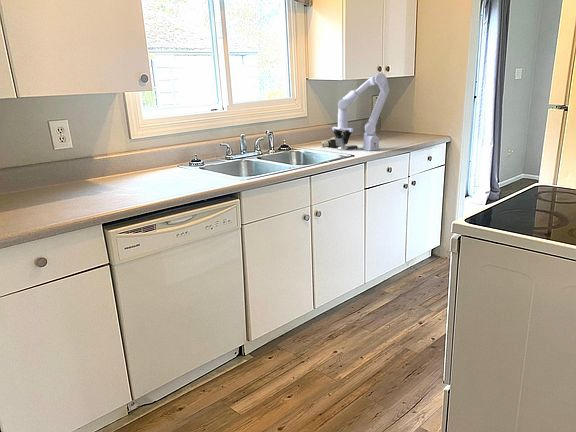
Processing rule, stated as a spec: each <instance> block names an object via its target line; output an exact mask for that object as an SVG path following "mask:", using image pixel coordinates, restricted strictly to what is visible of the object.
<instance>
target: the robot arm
mask: <svg viewBox="0 0 576 432" xmlns="http://www.w3.org/2000/svg"><path fill="white" fill-rule="evenodd" d="M376 85H377V86H378V89H379V91H380V92H379V93H378V96H377V98H376V101H375V103H374V106H373V108H372V110H371V111H372V112H371V114H370V117H369V118H368V121H367V122H366V123H365V124H364V133H363V147H361V148H360V149H361V150H363V151H368V152H369V151H371V152H372V151H379V150H381V149H380V148H379V147H380V138H379V137H378V136H377V133H376V130H377V127H376V126H377V123H378V120H379V117H380V115H381V112H382V110H383V107H384V104H385V103H386V100H387V97H388V95H389V93H390V87H389V86H390V85H389V81H388V78H387V76H386V75H385V74H384V73H383V72H377V73H375V75H373V76H371V77H369V78H368V79H366V80H365V82H363V83H362V84H361V85H360V86H359V87H358V88H356V89H352V90H349V91H348V93H347V94H346V95H345V96H343V97H341V98H342V99H339V101H338V103H337V107H338V109H337V110H338V112H337V126H332V127H331V129H332V131H333V134H334V137H337V136H339V135H344V143H345V144H346V145H347V144H348V143H349V140H350V137H351V135H352V133H353V132H354V128H353V127H348V121H349V119H348V117H349V116H348V115H349V113H348V107H349V105H352V104H353V103H354V102H355V101H357V99H359V97H360V96H359V95H361V94H362V93H363V92H364V91H366V90H367V89H368V88H369V87H371V86H376Z"/></svg>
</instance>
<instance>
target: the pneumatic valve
mask: <svg viewBox="0 0 576 432" xmlns="http://www.w3.org/2000/svg"><path fill="white" fill-rule="evenodd" d="M335 138H336V136H333V137H330V138H329V139H328V140H321V147H322V148H323V147H328V149H337V148H338V147H339V146H336V141H335Z"/></svg>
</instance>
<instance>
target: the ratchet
mask: <svg viewBox="0 0 576 432" xmlns="http://www.w3.org/2000/svg"><path fill="white" fill-rule="evenodd" d="M336 149H337V151H347V150H354V149H358V145H356V144H353V145H344V146H343V147H342V146H339V147H338V148H336Z"/></svg>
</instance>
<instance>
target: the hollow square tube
mask: <svg viewBox="0 0 576 432" xmlns="http://www.w3.org/2000/svg"><path fill="white" fill-rule="evenodd" d="M335 137H336V136H335ZM335 141H336V146H342V147H343V146H344V145H345V146H347V144H345V143H344V134H341V135H339V136H337V137H336V138H335Z"/></svg>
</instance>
